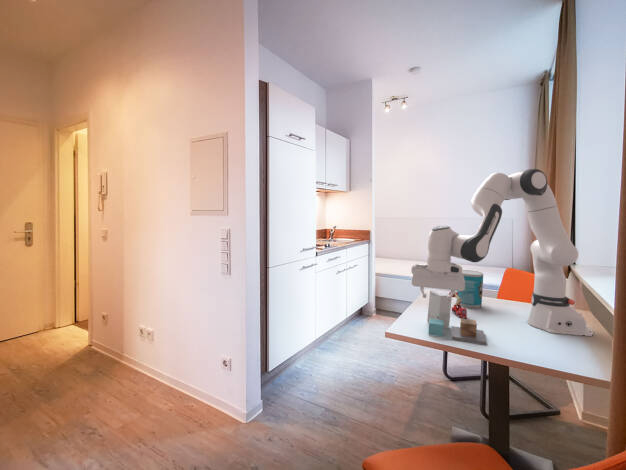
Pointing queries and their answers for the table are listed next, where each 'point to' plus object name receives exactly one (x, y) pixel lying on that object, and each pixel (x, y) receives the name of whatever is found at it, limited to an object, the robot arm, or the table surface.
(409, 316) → the table surface
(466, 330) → the walnut brick
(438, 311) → the skincare box
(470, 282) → the food can
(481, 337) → the baseplate
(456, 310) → the toy fire truck
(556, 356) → the table surface
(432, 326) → the teal block
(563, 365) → the table surface
